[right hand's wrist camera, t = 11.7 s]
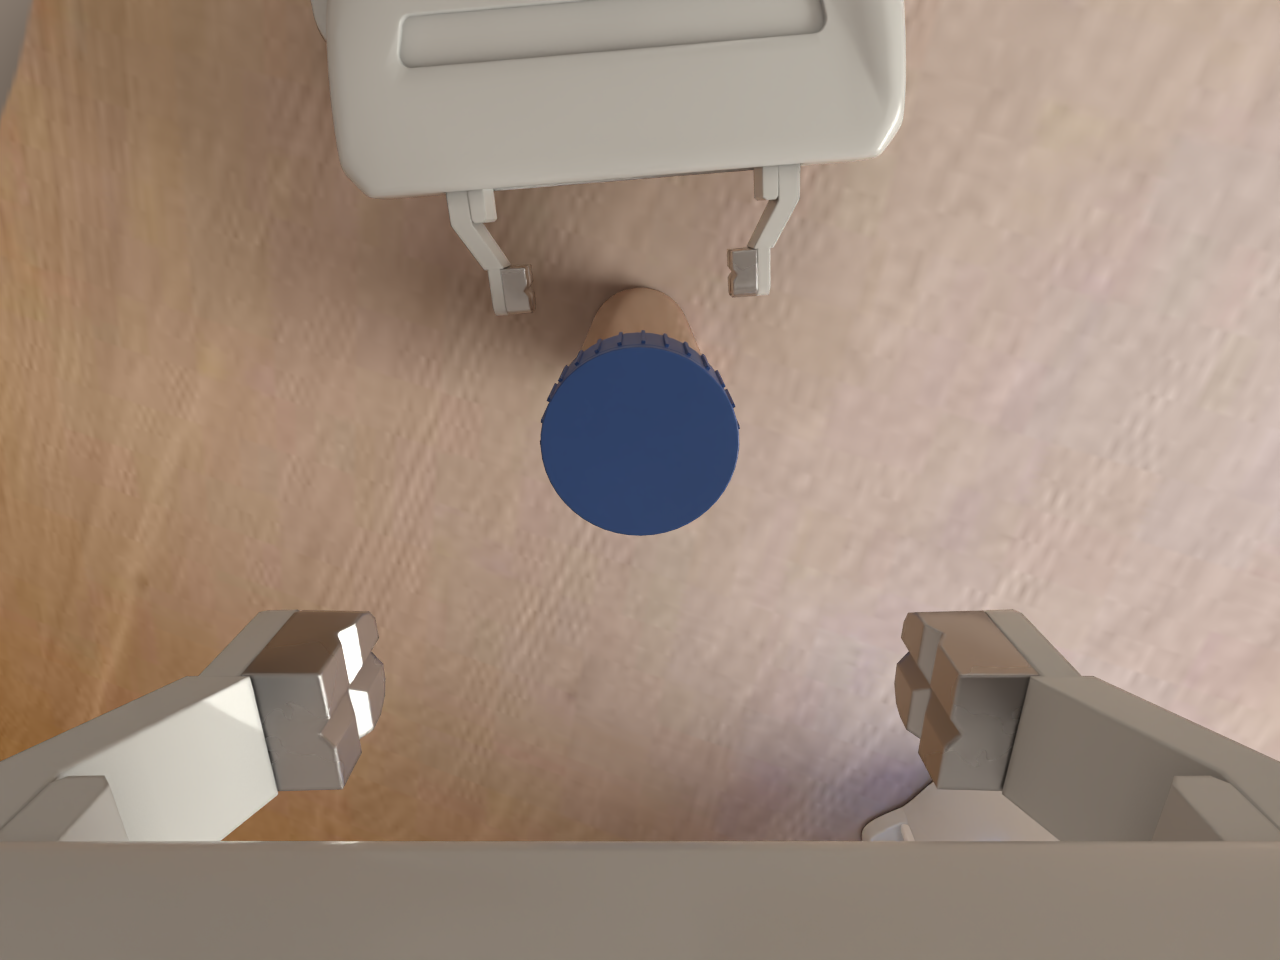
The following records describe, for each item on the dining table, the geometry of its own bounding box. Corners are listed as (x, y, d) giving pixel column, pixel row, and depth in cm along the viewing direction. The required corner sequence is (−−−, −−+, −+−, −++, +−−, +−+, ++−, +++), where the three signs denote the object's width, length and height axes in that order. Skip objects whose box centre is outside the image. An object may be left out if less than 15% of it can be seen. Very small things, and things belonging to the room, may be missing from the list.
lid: (509, 406, 21) (494, 429, 19) (656, 288, 20) (658, 299, 18) (625, 538, 22) (623, 573, 20) (767, 436, 21) (782, 462, 19)
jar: (569, 330, 34) (513, 426, 19) (648, 265, 33) (656, 314, 18) (631, 406, 36) (625, 553, 21) (710, 347, 35) (763, 455, 20)
